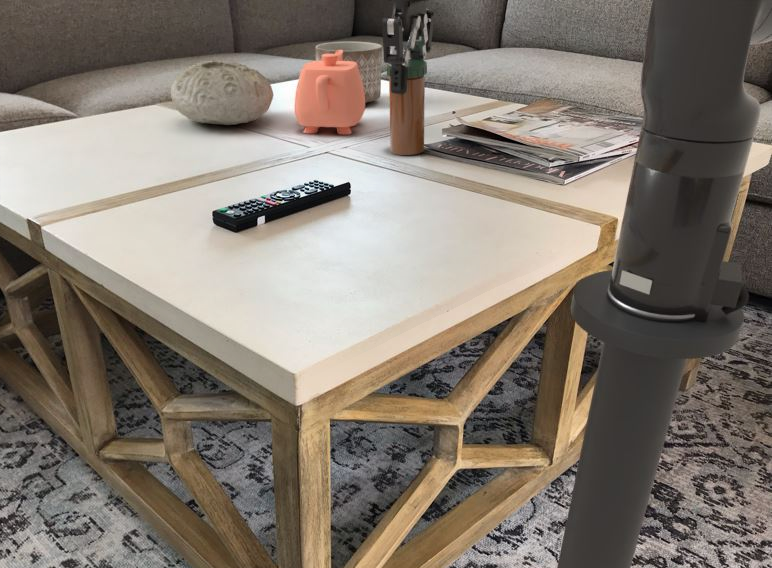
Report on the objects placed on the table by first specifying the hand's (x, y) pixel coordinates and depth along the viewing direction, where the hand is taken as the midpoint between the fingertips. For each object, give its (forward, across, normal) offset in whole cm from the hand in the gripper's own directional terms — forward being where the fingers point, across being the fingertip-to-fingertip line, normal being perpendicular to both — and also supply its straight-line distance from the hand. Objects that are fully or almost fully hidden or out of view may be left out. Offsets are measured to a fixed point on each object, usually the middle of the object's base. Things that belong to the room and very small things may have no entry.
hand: (407, 88), depth 109 cm
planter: (+10, +29, +24) cm, 39 cm away
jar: (+9, 0, 0) cm, 9 cm away
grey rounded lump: (+9, +4, +36) cm, 38 cm away
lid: (-3, 0, 0) cm, 3 cm away
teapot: (+10, +9, +18) cm, 22 cm away
